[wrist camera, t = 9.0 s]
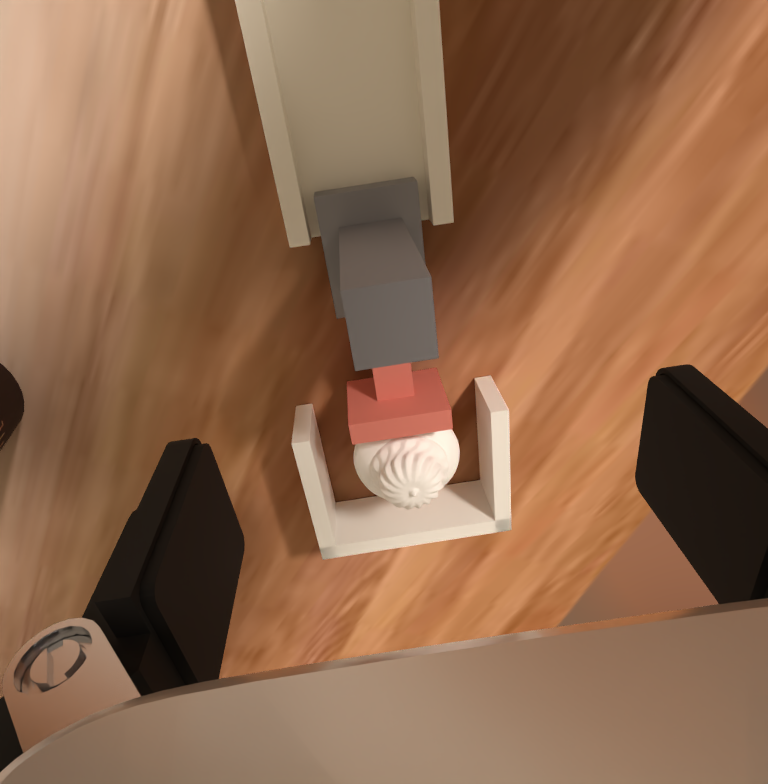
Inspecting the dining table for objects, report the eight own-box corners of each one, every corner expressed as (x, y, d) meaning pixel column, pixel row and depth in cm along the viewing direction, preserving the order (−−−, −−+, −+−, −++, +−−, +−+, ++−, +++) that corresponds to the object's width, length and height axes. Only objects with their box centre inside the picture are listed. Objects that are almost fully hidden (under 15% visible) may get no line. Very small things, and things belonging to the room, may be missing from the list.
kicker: (417, 176, 26) (461, 224, 17) (437, 384, 32) (478, 504, 23) (310, 192, 26) (297, 250, 17) (350, 398, 32) (356, 523, 23)
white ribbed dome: (370, 368, 32) (378, 435, 26) (463, 394, 34) (492, 463, 27) (339, 450, 35) (340, 528, 29) (427, 471, 36) (445, 549, 30)
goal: (490, 375, 33) (508, 409, 29) (495, 488, 37) (511, 529, 34) (296, 405, 33) (291, 443, 29) (323, 515, 37) (322, 559, 34)
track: (410, -270, 19) (418, -308, 18) (445, 213, 28) (453, 222, 26) (190, -236, 19) (174, -271, 18) (293, 236, 28) (289, 248, 26)
